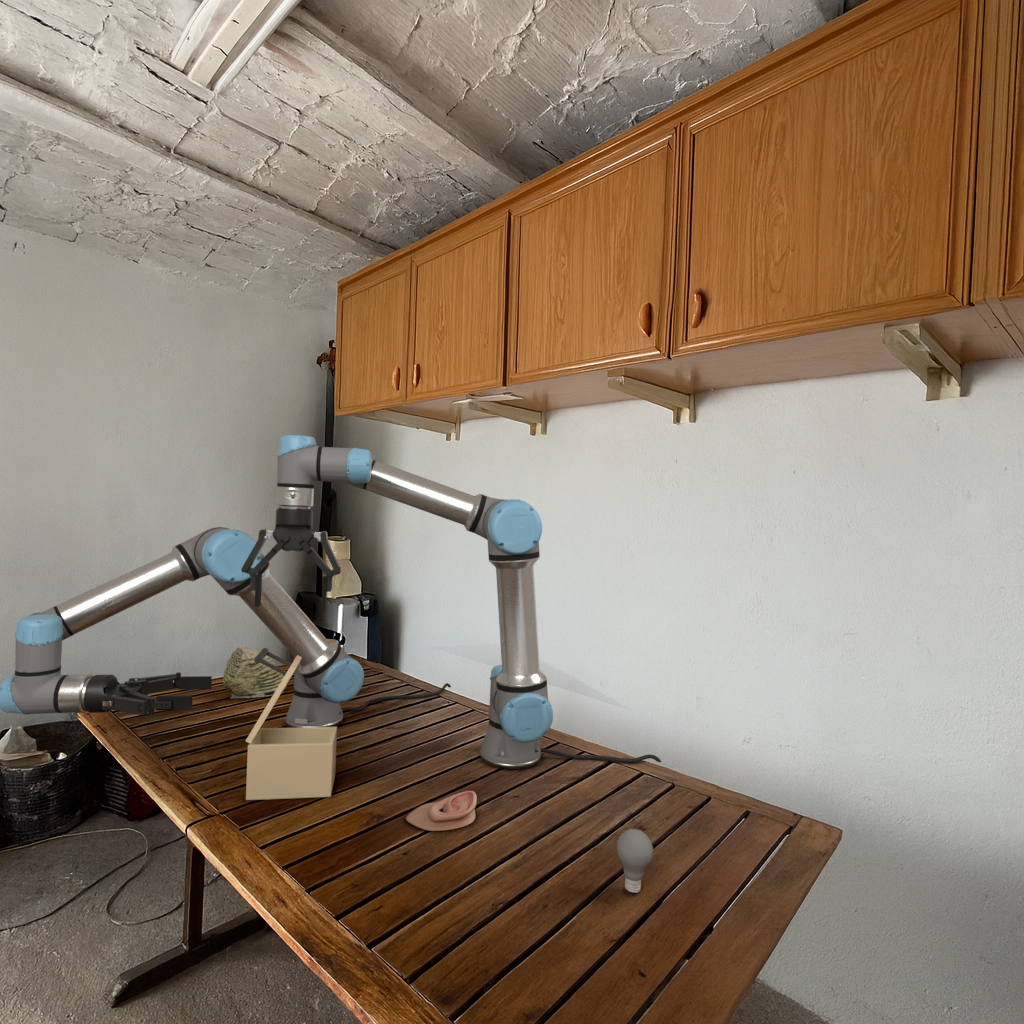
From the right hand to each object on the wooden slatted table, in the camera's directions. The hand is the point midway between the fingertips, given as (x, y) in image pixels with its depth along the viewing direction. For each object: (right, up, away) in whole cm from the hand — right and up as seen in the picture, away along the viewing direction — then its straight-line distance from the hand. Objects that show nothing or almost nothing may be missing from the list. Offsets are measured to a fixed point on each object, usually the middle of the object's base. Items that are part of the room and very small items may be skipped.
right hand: (291, 606), depth 136 cm
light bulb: (+68, -43, -31) cm, 86 cm away
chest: (0, -40, +1) cm, 39 cm away
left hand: (-18, -18, -3) cm, 25 cm away
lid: (-3, -20, 0) cm, 20 cm away
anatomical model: (+34, -41, -9) cm, 54 cm away
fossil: (-33, -37, +62) cm, 79 cm away
